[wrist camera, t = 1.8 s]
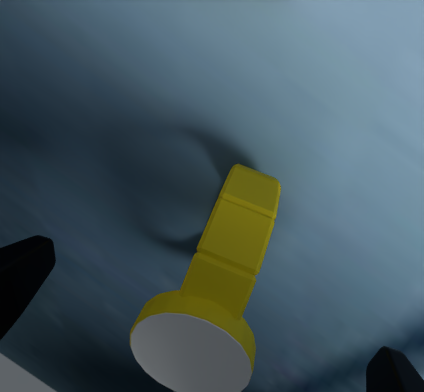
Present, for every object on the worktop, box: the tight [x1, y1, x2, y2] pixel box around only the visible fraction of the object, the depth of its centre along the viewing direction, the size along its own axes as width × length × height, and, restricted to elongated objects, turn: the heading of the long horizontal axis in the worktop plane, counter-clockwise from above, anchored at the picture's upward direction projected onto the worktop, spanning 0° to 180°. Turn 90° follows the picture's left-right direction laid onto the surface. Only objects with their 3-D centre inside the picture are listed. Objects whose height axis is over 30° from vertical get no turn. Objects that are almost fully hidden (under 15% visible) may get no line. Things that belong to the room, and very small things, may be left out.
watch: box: [130, 164, 281, 392], centre depth 9 cm, size 6×3×6 cm, turn 163°
